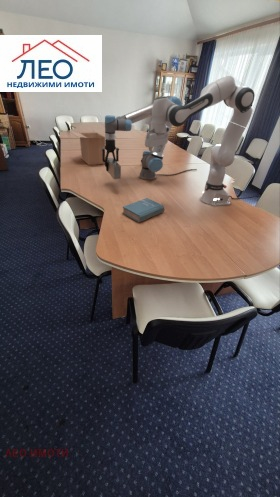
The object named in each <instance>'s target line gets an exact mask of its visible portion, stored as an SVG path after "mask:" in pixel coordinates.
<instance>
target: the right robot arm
mask: <svg viewBox="0 0 280 497" xmlns="http://www.w3.org/2000/svg"><path fill="white" fill-rule="evenodd" d="M222 101H223V103H224V105H225V106H227V107H229V108H231V109H233V113H232V115H231V117H230V120H229V122H228V124H227V126H226V128H225V129H224V131H223V134H222V139H221V143H219V144H215V145H214V146H213V147H212V148H211V149H210V162H209V171H208V176H207V179H206V181H205V185H204V189H203V191H202V195H201V197H200V202H202V203H204V204H207V205H210V206H213V207H218V206H219V207H220V206H230V205H231V201H230V198H231V200H243V199H245V200H246V199H251V198H254V197H256V198H259V195H253V196H248V197H246V196H245V197H238V198H235V197H232V195H230V194H228V192H227V191H226V190H225V189H227V185H226V184H224V179H225V176H226V167H227V168H228V167H229V166H231V165H232V164H233V163H234V161H235V155H236V151H237V148H238V144H239V142H240V140H241V138H242V136H243V134H244V132H245V130H246V129H247V127H248V124H249V122H250V121H251V118H252V114H253V108H252V107H253V103H254V101H255V91H254V90H253V89H252V88H251V87H249V86H244V85H237V84H236V80H235V78H234V76H231V75H227V76H224V77H223V76H222V77H221V78H218V79H216V80H213V81H212V82H210V83H208V84H207V85H206V86H204V87H203V88H202V89H201V91H200V94H199V97H197V98H196V99H194V100H193V101H191V102H189V103H187V104H185V105H184V104H183V105H182V106H179V105H176V104H175V103H173V102H171V101H170V100H169V99H168V98H167V97H166V96H158V97H156V98H154V100H153V103H152V104H153V108H152V116H151V121H150V129H148V131H147V132H146V135H145V140H144V146H145V147H146V148H148V151H150V154H153V151H152V150H153V148H154V146H159V145H160V147H159V149H158V152H162V148H163V144H166V145H167V144H168V141H169V136H170V133H168V132H169V130H170V128H169V127H167V126H166V122H170V123H171V124H172V127H177V128H178V127H182V126H183V125H185V123H186V122H187V121H188V120H190V118H192V117H193V116H195V115H197V114H198V113H200V112H202V111H204V110H206V109H208V108H211V107H212V106H215V105H217V104H219V103H221V102H222ZM170 131H171V130H170Z"/></svg>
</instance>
